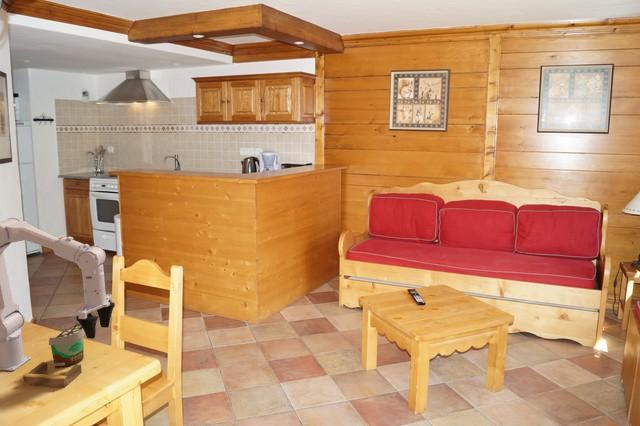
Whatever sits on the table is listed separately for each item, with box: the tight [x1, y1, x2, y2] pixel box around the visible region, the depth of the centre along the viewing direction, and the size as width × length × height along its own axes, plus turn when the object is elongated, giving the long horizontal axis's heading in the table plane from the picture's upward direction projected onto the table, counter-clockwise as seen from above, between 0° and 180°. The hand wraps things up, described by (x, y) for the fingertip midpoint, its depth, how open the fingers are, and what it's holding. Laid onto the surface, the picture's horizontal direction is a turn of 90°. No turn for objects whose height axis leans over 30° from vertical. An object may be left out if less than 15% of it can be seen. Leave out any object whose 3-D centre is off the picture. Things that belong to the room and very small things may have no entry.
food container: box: [48, 321, 86, 369], centre depth 152 cm, size 12×6×10 cm, turn 168°
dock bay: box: [22, 361, 83, 389], centre depth 143 cm, size 12×8×3 cm
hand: (98, 332), depth 149 cm, fingers open, 7 cm apart
